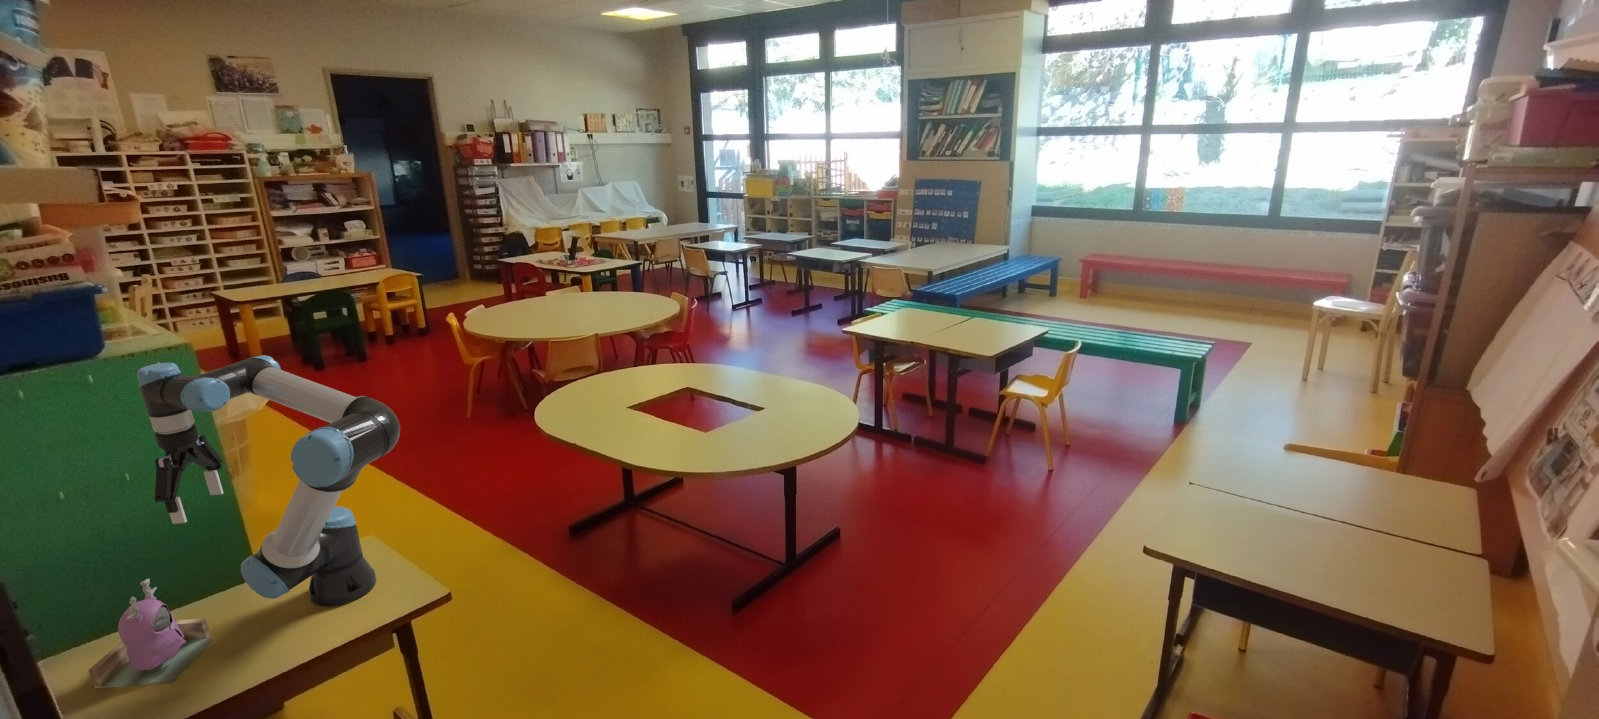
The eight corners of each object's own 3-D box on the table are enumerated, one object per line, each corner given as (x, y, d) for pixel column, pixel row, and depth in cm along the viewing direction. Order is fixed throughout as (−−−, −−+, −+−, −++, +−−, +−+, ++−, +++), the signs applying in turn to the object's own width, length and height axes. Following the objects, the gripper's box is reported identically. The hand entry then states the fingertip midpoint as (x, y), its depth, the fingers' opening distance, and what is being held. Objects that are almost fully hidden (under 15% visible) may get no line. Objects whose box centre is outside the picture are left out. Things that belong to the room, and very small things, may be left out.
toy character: (177, 675, 162) (151, 600, 156) (121, 685, 159) (92, 609, 153) (202, 640, 173) (179, 568, 167) (150, 648, 170) (125, 576, 164)
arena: (218, 633, 176) (213, 616, 174) (172, 682, 161) (166, 664, 159) (148, 639, 174) (142, 622, 172) (95, 688, 159) (88, 670, 157)
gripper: (193, 408, 181) (215, 484, 188) (116, 452, 158) (144, 536, 164) (225, 407, 182) (246, 482, 189) (153, 450, 158) (180, 534, 165)
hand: (199, 507), depth 177 cm, fingers open, 13 cm apart
